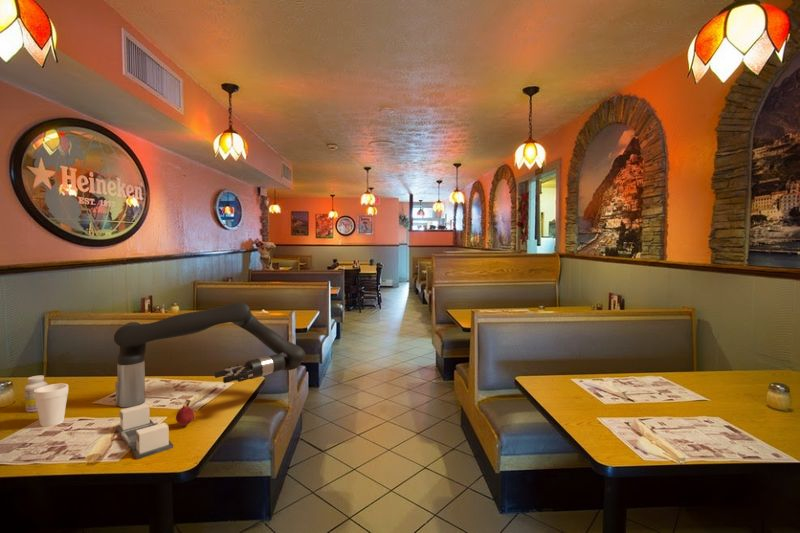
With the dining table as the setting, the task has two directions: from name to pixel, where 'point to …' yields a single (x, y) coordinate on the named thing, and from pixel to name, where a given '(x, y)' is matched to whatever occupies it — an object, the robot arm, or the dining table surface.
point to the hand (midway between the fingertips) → (219, 377)
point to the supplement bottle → (32, 392)
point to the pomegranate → (185, 415)
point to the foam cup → (51, 403)
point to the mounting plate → (131, 440)
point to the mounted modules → (146, 436)
